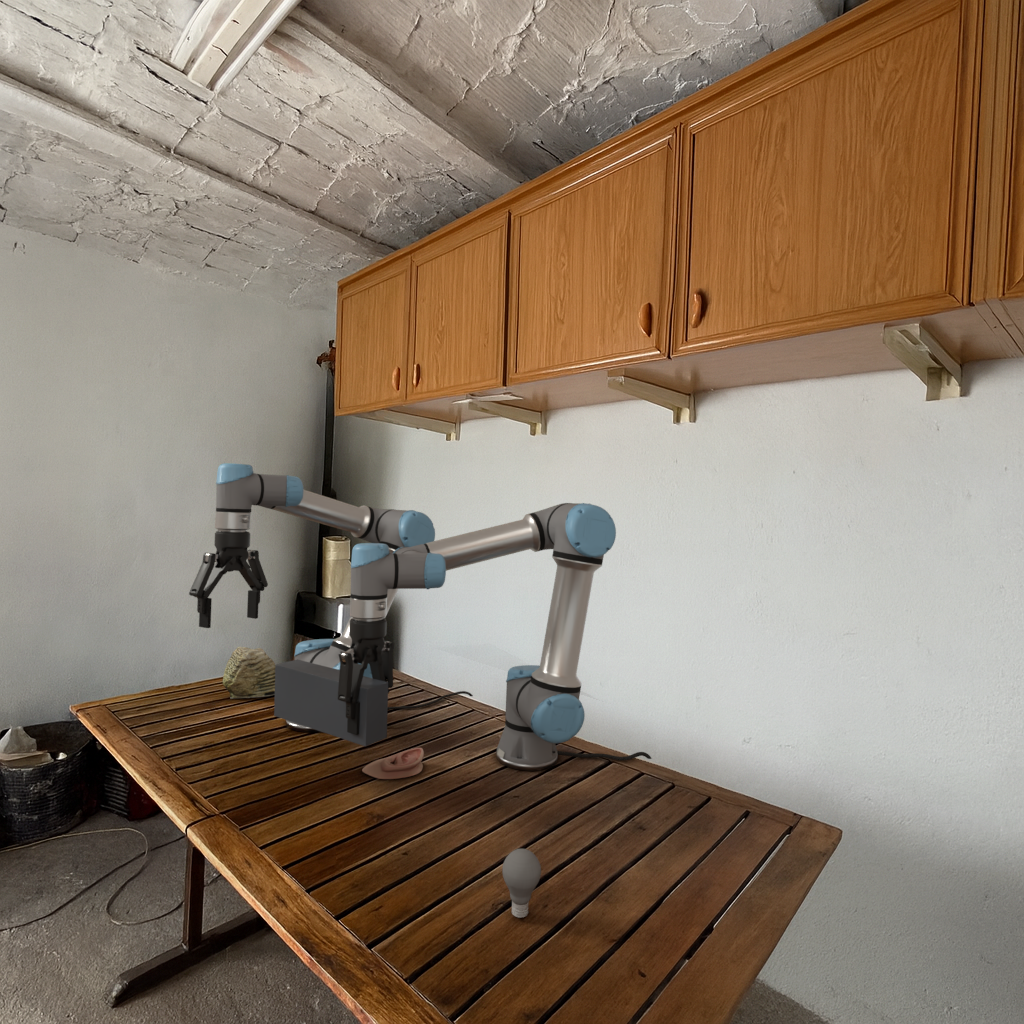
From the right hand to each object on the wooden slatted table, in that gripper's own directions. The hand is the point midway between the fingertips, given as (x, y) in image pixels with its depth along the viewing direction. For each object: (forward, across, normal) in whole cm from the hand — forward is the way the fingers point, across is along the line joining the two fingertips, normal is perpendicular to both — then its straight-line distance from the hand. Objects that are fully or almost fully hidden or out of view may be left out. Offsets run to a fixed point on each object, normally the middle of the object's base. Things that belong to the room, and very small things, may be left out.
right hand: (365, 728), depth 132 cm
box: (+2, 0, +11) cm, 11 cm away
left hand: (-18, -7, +38) cm, 42 cm away
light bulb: (+16, -11, -46) cm, 50 cm away
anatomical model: (+16, +15, +6) cm, 23 cm away
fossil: (+15, +29, +77) cm, 84 cm away
